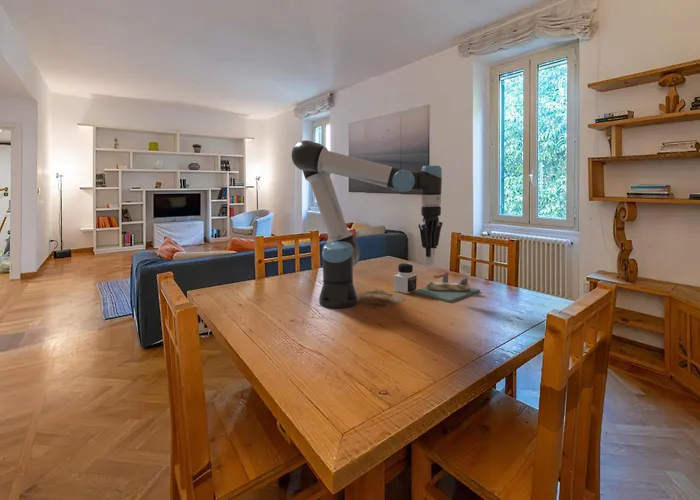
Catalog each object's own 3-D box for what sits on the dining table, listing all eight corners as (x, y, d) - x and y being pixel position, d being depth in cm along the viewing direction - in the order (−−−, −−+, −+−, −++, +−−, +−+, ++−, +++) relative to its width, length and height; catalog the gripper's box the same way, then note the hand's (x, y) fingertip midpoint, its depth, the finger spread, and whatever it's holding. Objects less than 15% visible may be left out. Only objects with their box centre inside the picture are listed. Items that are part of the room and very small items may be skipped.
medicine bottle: (407, 294, 160) (408, 266, 158) (393, 291, 165) (393, 264, 163) (416, 290, 166) (417, 263, 164) (402, 287, 170) (402, 261, 168)
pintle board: (449, 302, 148) (450, 287, 147) (413, 293, 162) (413, 279, 161) (479, 291, 163) (480, 278, 162) (444, 283, 176) (444, 271, 175)
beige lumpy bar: (468, 288, 164) (469, 282, 163) (470, 291, 159) (470, 285, 158) (426, 287, 166) (426, 281, 166) (426, 290, 161) (426, 284, 161)
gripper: (428, 206, 143) (427, 268, 147) (448, 205, 152) (447, 263, 156) (413, 206, 149) (412, 265, 153) (433, 204, 157) (432, 260, 161)
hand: (429, 264), depth 154 cm, fingers closed
